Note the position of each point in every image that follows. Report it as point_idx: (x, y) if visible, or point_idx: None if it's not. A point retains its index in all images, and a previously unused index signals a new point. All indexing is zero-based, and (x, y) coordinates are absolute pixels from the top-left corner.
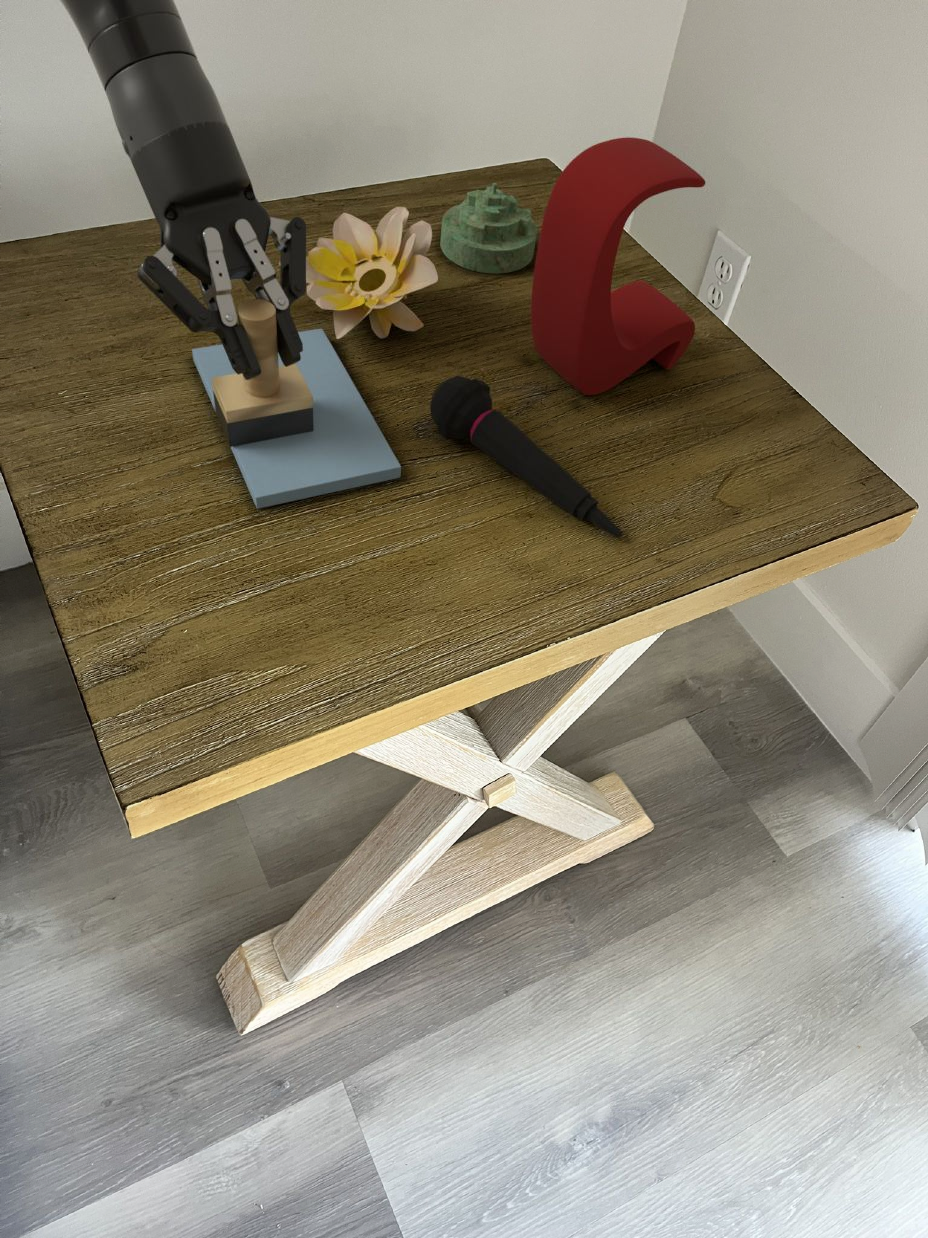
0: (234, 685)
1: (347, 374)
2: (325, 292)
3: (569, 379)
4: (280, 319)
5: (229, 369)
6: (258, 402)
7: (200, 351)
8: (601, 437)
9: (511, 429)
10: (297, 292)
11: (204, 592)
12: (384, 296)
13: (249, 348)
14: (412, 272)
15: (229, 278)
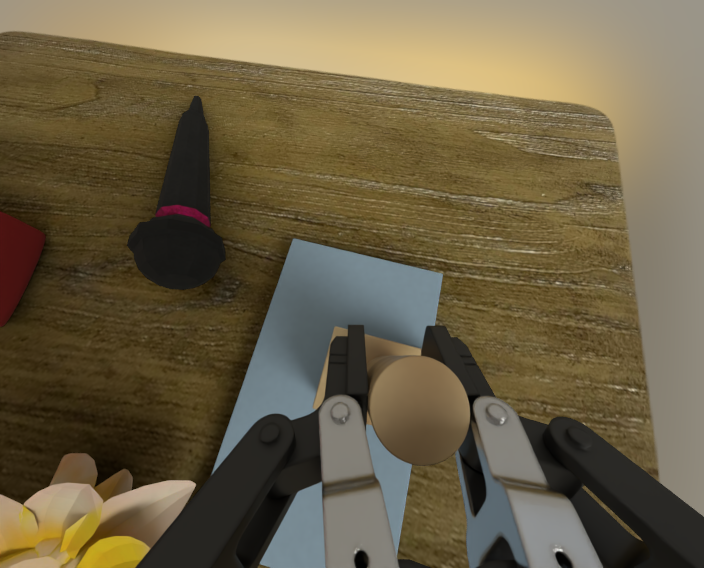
0: (526, 141)
1: (235, 408)
2: None
3: (34, 247)
4: (359, 381)
5: None
6: (407, 352)
7: None
8: (96, 192)
9: (171, 182)
10: (283, 421)
11: (517, 219)
12: (48, 545)
13: (447, 352)
14: None
15: (520, 526)
